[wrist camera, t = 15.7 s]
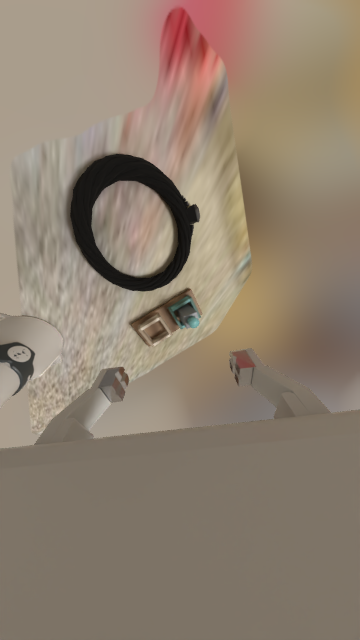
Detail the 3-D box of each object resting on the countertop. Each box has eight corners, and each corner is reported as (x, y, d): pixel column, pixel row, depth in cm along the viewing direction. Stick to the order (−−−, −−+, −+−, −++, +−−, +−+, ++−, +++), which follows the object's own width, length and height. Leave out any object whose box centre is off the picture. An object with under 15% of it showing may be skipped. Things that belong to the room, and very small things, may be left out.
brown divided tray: (148, 344, 48) (149, 351, 44) (131, 323, 43) (131, 330, 39) (200, 312, 49) (206, 317, 45) (189, 288, 44) (194, 291, 40)
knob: (179, 317, 46) (189, 332, 37) (176, 307, 44) (186, 319, 35) (189, 314, 46) (202, 327, 38) (187, 303, 44) (200, 314, 36)
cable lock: (28, 173, 24) (182, 126, 27) (41, 184, 27) (177, 141, 30) (115, 308, 37) (212, 267, 40) (117, 304, 40) (206, 266, 43)
